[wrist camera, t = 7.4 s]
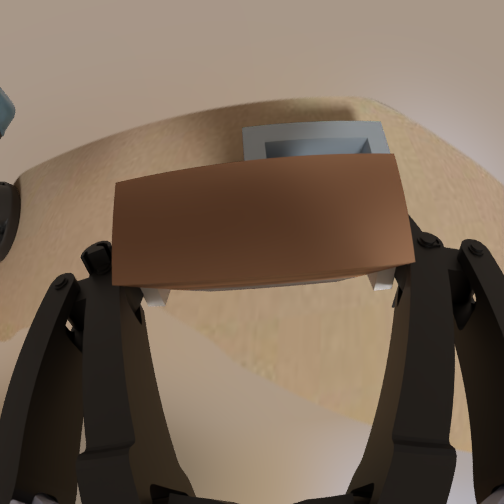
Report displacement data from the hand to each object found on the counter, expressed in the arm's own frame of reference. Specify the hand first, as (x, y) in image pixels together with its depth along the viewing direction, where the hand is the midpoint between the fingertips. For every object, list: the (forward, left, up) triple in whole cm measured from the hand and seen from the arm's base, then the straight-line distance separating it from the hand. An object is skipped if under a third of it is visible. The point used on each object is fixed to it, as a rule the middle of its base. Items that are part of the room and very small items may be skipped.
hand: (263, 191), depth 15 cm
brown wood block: (+3, -1, -4) cm, 5 cm away
